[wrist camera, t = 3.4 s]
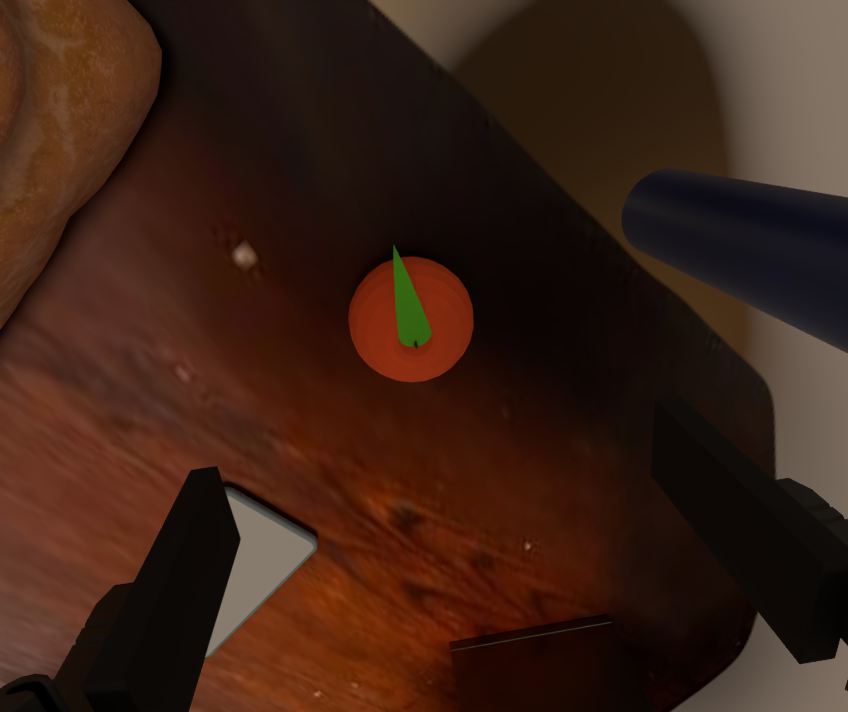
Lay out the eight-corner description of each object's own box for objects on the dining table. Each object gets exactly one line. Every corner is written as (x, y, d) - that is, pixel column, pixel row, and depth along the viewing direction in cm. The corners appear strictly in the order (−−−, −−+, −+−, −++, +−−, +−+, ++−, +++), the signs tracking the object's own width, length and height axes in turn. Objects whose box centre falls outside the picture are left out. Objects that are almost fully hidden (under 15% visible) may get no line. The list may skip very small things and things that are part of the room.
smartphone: (105, 618, 40) (221, 487, 36) (111, 607, 41) (224, 478, 37) (205, 663, 43) (322, 546, 39) (209, 652, 44) (323, 536, 40)
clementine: (331, 242, 32) (321, 273, 25) (448, 214, 32) (468, 238, 25) (366, 363, 35) (366, 420, 28) (472, 338, 35) (495, 389, 28)
